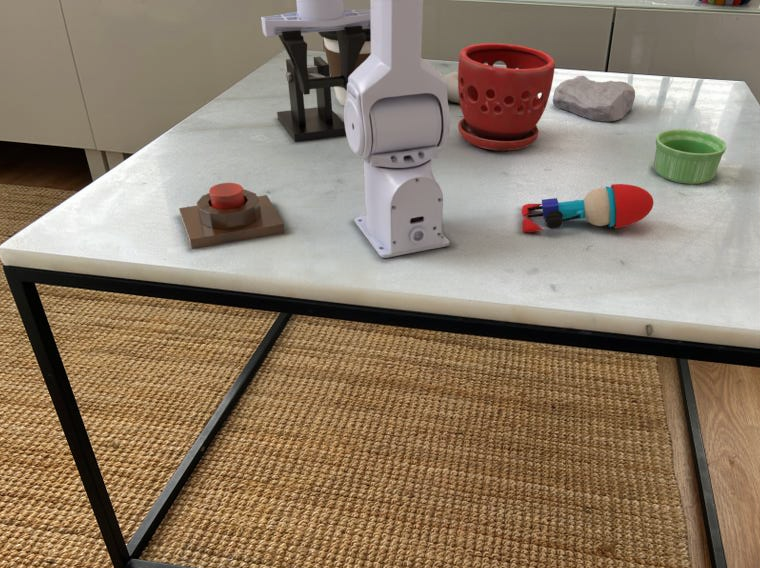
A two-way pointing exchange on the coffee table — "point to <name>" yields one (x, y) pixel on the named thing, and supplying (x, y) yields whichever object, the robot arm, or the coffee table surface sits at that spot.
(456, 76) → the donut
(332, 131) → the bracket
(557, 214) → the toy figure
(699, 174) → the ramekin
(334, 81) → the lever
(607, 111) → the stone block
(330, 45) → the coffee cup
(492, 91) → the flower pot
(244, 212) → the button block
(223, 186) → the button
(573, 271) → the coffee table surface
